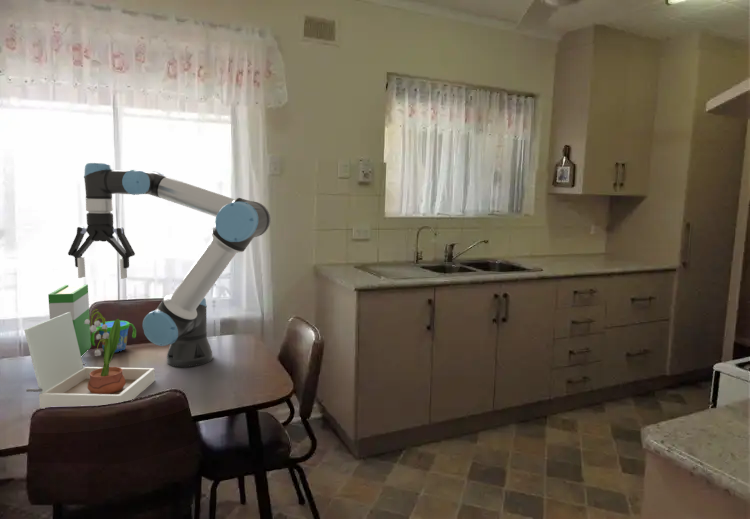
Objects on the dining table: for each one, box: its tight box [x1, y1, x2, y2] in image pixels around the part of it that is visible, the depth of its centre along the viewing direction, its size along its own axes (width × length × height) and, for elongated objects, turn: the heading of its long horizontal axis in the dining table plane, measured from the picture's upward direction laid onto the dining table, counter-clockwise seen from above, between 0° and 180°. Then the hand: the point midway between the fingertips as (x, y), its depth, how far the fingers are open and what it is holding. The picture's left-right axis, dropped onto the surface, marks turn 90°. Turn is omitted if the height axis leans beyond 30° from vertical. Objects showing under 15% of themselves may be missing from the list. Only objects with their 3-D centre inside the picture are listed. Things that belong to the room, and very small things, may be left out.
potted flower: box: [84, 308, 126, 394], centre depth 150 cm, size 12×10×25 cm
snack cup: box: [90, 320, 137, 354], centre depth 190 cm, size 16×10×10 cm
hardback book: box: [48, 284, 92, 357], centre depth 183 cm, size 18×7×24 cm, turn 15°
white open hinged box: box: [23, 312, 156, 409], centre depth 150 cm, size 26×22×22 cm
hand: (102, 277), depth 168 cm, fingers open, 13 cm apart
